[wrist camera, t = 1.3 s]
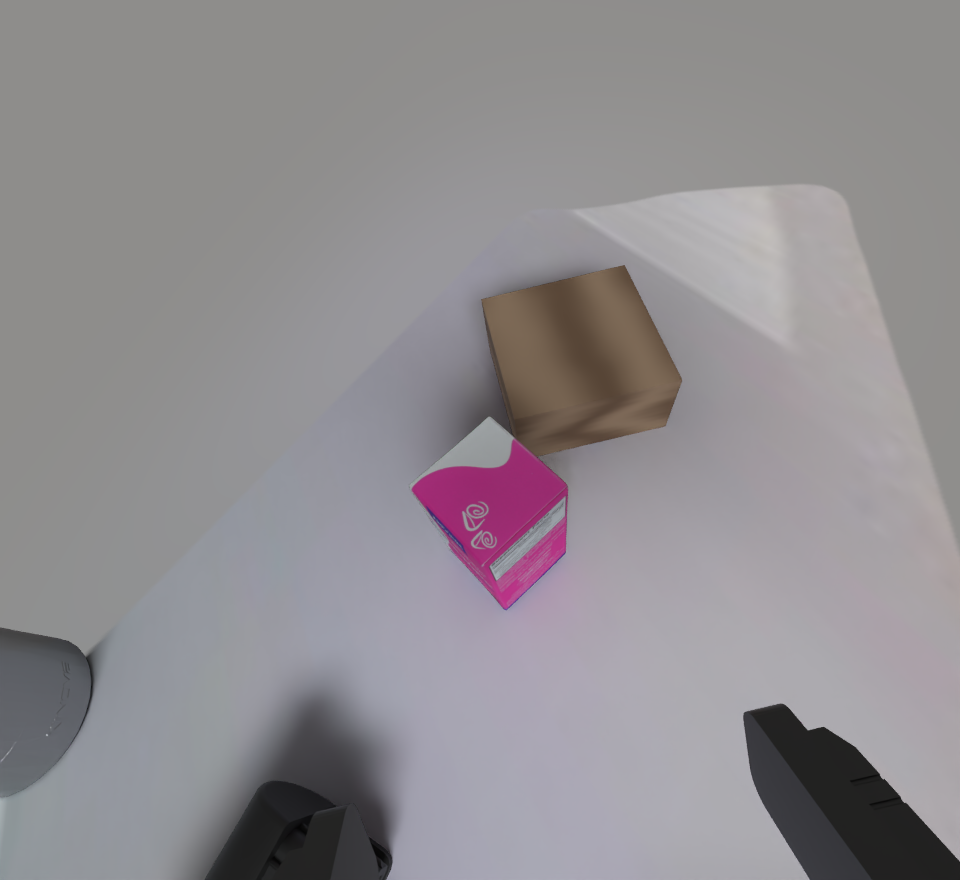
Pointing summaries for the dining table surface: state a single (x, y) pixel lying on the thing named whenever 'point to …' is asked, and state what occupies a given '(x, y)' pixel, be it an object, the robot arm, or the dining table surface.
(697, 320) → the dining table surface
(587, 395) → the walnut block
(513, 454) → the supplement box
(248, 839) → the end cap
